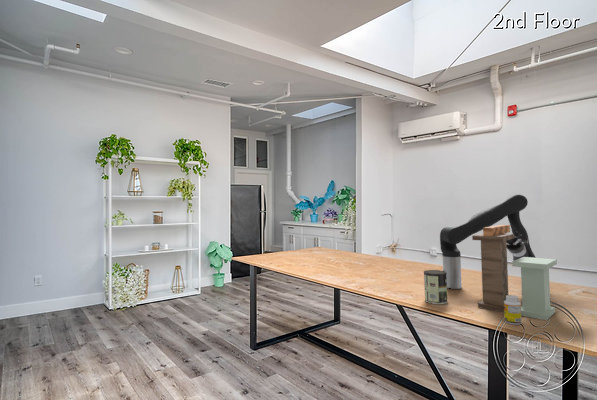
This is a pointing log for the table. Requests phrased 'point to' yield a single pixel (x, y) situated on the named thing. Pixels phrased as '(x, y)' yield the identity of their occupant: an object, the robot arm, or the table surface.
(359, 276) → the table surface
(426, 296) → the coffee can
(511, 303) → the supplement bottle
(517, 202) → the robot arm
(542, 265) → the low stand
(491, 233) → the block
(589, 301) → the table surface
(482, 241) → the tall stand
